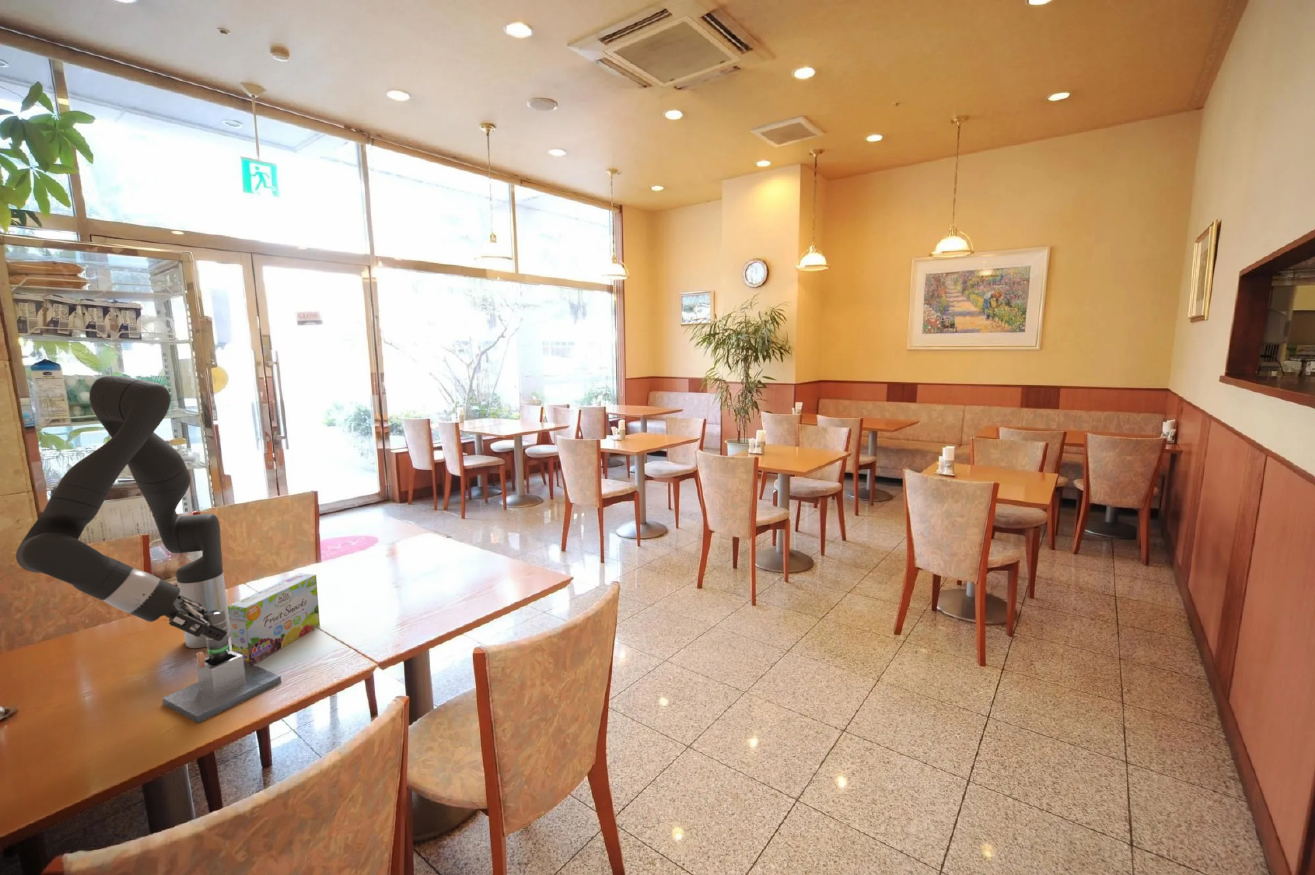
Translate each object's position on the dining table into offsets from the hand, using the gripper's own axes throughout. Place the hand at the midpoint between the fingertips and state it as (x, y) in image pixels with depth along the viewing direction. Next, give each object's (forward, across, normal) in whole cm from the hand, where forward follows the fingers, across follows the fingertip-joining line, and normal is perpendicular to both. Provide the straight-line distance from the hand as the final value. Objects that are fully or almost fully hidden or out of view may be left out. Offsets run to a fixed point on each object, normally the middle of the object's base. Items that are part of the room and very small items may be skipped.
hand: (221, 629), depth 122 cm
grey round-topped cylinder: (+5, 0, +7) cm, 9 cm away
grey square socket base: (+10, 0, +11) cm, 15 cm away
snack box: (+19, +16, +2) cm, 25 cm away
